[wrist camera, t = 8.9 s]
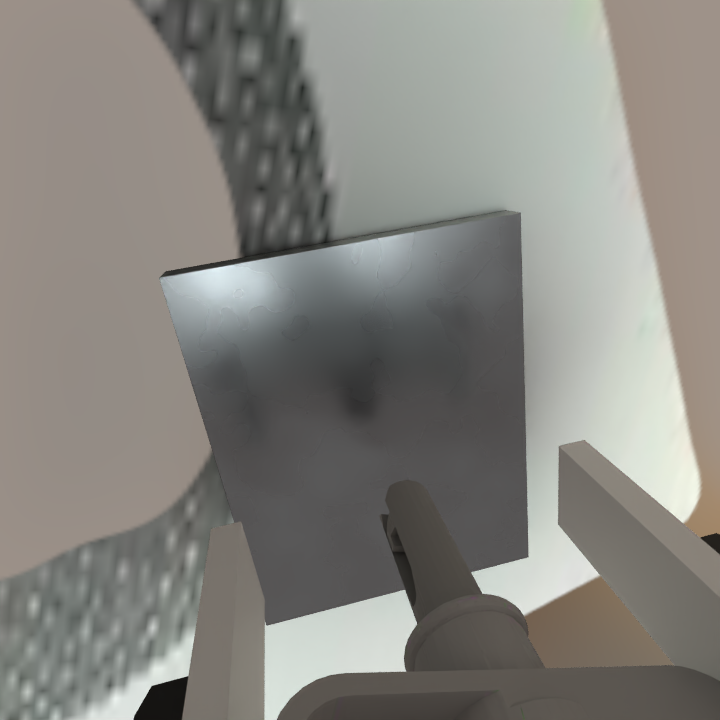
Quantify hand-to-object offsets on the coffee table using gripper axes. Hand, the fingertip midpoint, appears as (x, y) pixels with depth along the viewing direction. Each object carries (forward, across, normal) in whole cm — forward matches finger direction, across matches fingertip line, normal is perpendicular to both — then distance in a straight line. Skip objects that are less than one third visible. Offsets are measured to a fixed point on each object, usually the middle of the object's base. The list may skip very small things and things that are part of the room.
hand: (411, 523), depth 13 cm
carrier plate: (+5, 0, 0) cm, 5 cm away
